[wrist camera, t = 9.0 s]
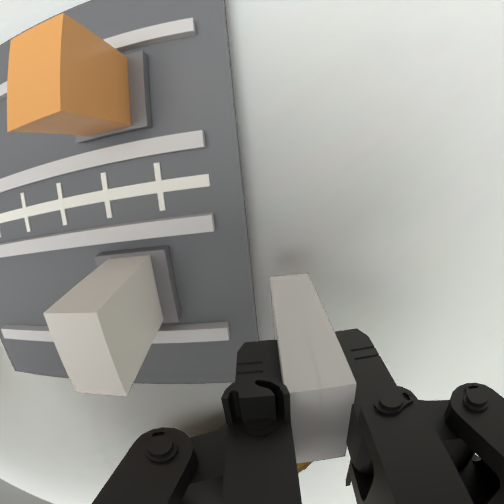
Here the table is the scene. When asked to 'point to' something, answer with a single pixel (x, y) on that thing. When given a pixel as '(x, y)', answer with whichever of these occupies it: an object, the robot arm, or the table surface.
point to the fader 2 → (114, 318)
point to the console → (136, 198)
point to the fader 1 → (75, 83)
